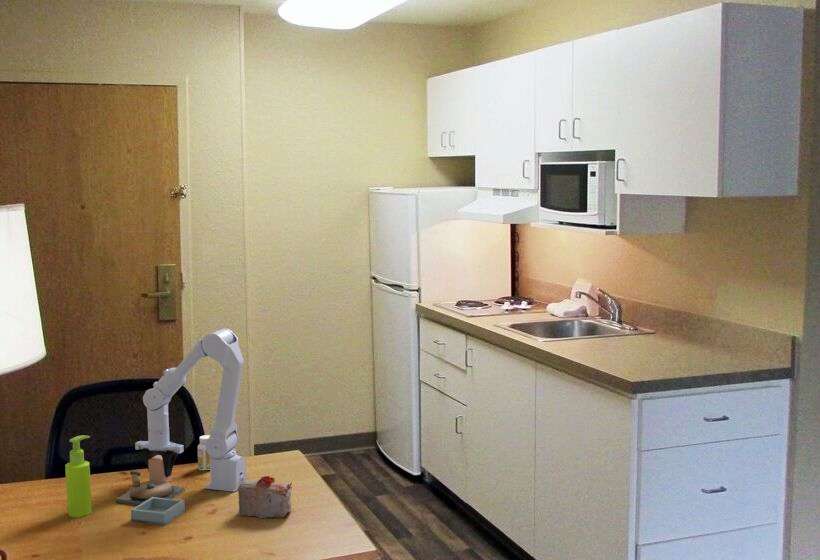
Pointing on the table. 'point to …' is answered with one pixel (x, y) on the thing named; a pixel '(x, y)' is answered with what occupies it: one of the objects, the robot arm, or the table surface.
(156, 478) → the block
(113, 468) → the table surface
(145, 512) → the tray
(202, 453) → the supplement bottle
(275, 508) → the food item
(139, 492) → the crank
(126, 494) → the crank base
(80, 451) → the soap dispenser
